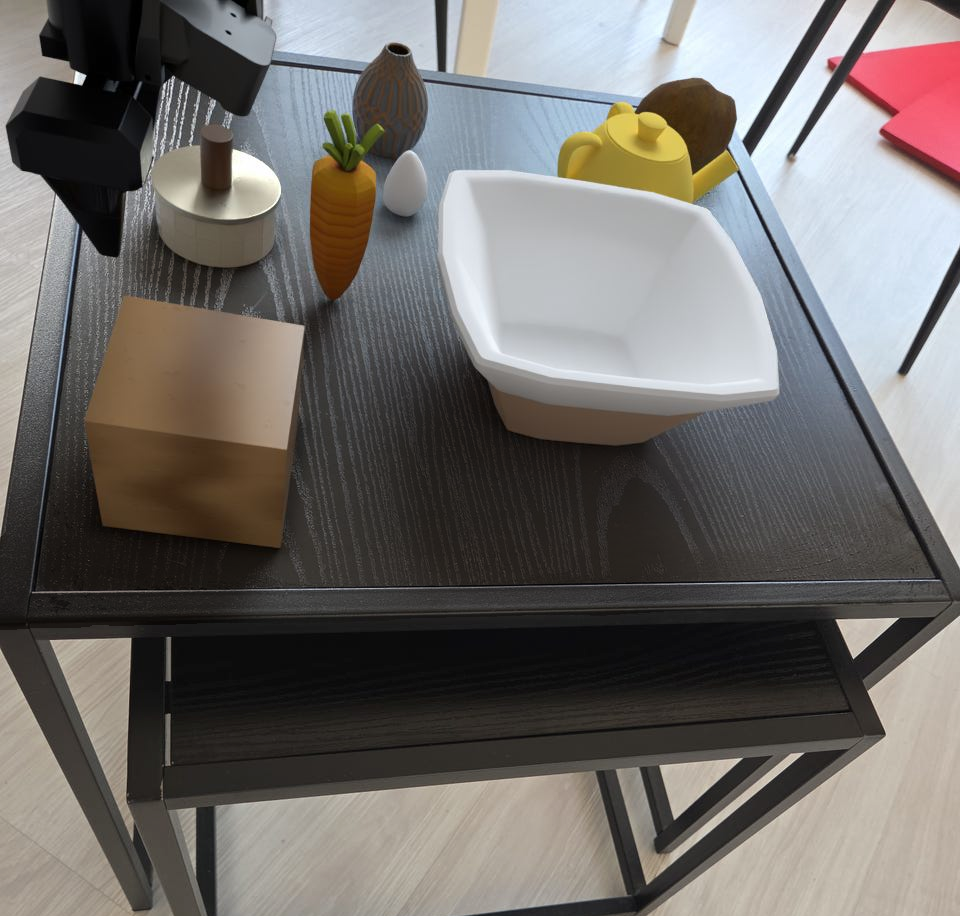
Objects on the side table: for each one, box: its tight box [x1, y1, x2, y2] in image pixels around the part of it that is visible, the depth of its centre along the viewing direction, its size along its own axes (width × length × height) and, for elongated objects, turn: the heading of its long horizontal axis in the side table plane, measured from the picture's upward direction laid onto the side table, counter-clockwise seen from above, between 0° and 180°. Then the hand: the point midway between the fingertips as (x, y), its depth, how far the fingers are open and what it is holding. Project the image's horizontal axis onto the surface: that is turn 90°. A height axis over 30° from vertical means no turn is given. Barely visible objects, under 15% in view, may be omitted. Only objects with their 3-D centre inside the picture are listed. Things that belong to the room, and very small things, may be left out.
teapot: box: [556, 101, 739, 204], centre depth 85 cm, size 14×14×11 cm
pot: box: [154, 193, 278, 269], centre depth 75 cm, size 9×9×4 cm
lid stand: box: [83, 294, 306, 549], centre depth 59 cm, size 11×11×9 cm
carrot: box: [309, 109, 385, 302], centre depth 69 cm, size 5×5×15 cm
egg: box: [382, 150, 429, 217], centre depth 82 cm, size 4×4×6 cm
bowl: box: [437, 169, 780, 447], centre depth 71 cm, size 24×25×11 cm
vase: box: [351, 41, 429, 159], centre depth 86 cm, size 7×7×9 cm
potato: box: [634, 77, 738, 175], centre depth 95 cm, size 8×12×9 cm
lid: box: [150, 123, 282, 225], centre depth 72 cm, size 10×10×4 cm
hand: (125, 210), depth 58 cm, fingers open, 9 cm apart
